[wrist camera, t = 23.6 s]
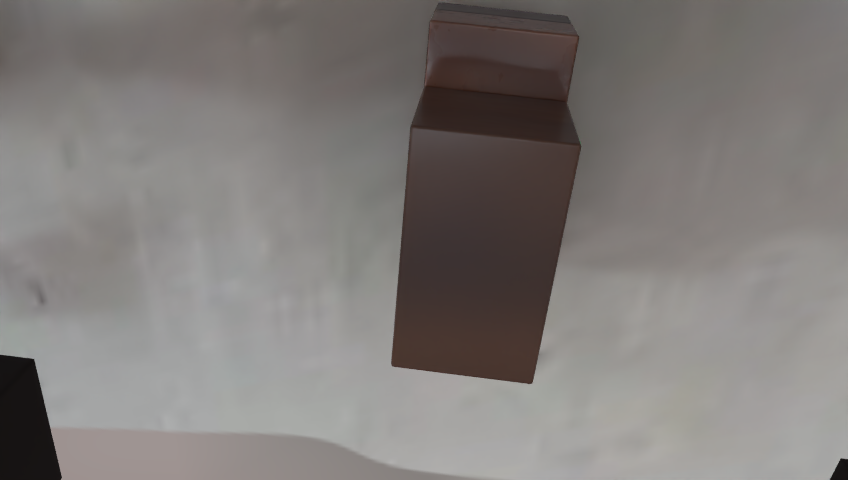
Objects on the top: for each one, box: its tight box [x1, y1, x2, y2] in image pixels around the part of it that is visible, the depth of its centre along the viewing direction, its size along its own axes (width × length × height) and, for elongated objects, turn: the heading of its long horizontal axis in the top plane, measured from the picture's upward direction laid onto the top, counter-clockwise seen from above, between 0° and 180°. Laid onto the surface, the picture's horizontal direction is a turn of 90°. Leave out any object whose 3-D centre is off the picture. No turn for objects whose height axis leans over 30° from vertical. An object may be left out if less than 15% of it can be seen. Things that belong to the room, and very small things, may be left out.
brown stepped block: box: [391, 3, 581, 384], centre depth 23 cm, size 12×4×8 cm, turn 175°
